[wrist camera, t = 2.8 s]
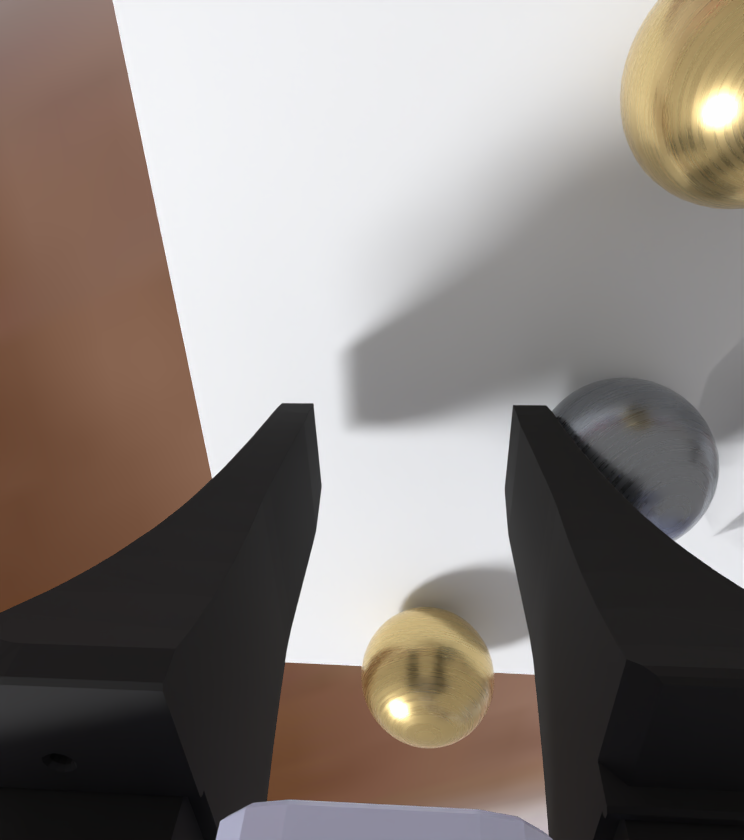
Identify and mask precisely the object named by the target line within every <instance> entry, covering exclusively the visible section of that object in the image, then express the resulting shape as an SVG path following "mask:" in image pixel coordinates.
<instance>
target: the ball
mask: <svg viewBox="0 0 744 840" xmlns="http://www.w3.org/2000/svg"><path fill="white" fill-rule="evenodd" d="M552 412H553V413H554V415H555V416H556V418H557V419H558V420H559V422H560V423H561V424H562V426H563V427H564V428H565V429H566V431H567V432H568V433H569V435H570V436H571V437H572V438H573V440H574V441H575V442H576V443H577V445H578V446H579V447H580V448H581V450H582V451H583V452H584V453H585V455H586V456H587V457H588V458H589V459H590V460H591V461H592V463H593V464H594V465H595V466H596V467H597V468H598V469H599V471H600V472H601V473H602V474H603V475H604V476H605V477H606V478H607V480H608V481H609V482H610V483H611V484H612V485H613V486H614V487H615V488H616V489H617V490H618V491H619V492H620V493H621V494H622V495H623V496H624V497H625V498H626V499H627V500H628V501H629V502H630V503H631V504H632V505H633V506H634V507H635V508H636V509H637V510H638V511H639V512H640V513H642V514H643V515H644V516H645V517H646V518H647V519H648V520H650V521H651V522H652V523H653V524H654V525H656V526H657V527H658V528H659V529H660V530H662V531H663V532H664V533H665V534H666V535H668V536H669V537H670V538H671V539H672V540H674V541H675V540H677V539H679V538H680V537H682V536H683V535H684V534H686V533H687V532H688V531H690V530H691V529H692V528H693V527H694V526H695V525H696V524H697V523H698V522H699V521H700V519H701V518H702V517H703V515H704V514H705V512H706V511H707V509H708V507H709V505H710V503H711V501H712V499H713V497H714V494H715V492H716V488H717V483H718V478H719V457H718V451H717V447H716V443H715V439H714V437H713V435H712V432H711V430H710V428H709V426H708V424H707V422H706V421H705V420H704V418H703V417H702V416H701V414H700V413H699V412H698V410H697V409H696V408H695V407H694V406H693V405H692V404H691V403H690V402H688V401H687V400H686V399H685V398H684V397H682V396H681V395H679V394H678V393H676V392H675V391H673V390H671V389H669V388H667V387H665V386H663V385H660V384H658V383H655V382H652V381H648V380H643V379H638V378H611V379H606V380H601V381H597V382H594V383H591V384H588V385H586V386H584V387H581V388H580V389H578V390H576V391H574V392H573V393H571V394H570V395H568V396H567V397H566V398H565V399H563V400H562V401H561V402H560V403H559V404H558V405H557V406H556V407H555V408H554V409H553V410H552Z"/></svg>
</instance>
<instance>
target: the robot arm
mask: <svg viewBox="0 0 744 840" xmlns="http://www.w3.org/2000/svg"><path fill="white" fill-rule="evenodd" d="M321 488H322V484H321V474H320V464H319V454H318V444H317V434H316V424H315V414H314V404H313V403H282V404H281V405H279V406H278V407H277V408H276V410H275V411H274V412H273V413H272V414H271V415H270V417H269V418H268V419H267V420H266V421H265V422H264V424H263V425H262V426H261V427H260V428H259V429H258V431H257V432H256V433H255V434H254V435H253V436H252V437H251V439H250V440H249V441H248V442H247V443H246V444H245V445H244V446H243V447H242V449H241V450H240V451H239V452H238V453H237V454H236V455H235V456H234V457H233V458H232V459H231V460H230V461H229V462H228V464H227V465H226V466H225V467H224V468H223V469H222V470H221V471H220V472H219V473H218V474H217V475H216V476H215V477H213V478H212V479H211V480H210V481H209V482H208V483H207V484H206V485H205V486H204V487H203V488H202V489H201V490H200V491H199V492H198V493H197V494H196V495H194V496H193V497H192V498H191V499H190V500H189V501H188V502H186V503H185V504H184V505H183V506H182V507H181V508H179V509H178V510H177V511H176V512H174V513H173V514H172V515H170V516H169V517H168V518H167V519H165V520H164V521H163V522H161V523H160V524H159V525H157V526H156V527H155V528H153V529H152V530H150V531H149V532H147V533H146V534H144V535H143V536H141V537H140V538H138V539H137V540H135V541H134V542H132V543H131V544H129V545H128V546H126V547H125V548H123V549H122V550H120V551H119V552H117V553H116V554H114V555H113V556H111V557H109V558H108V559H106V560H104V561H103V562H101V563H99V564H97V565H96V566H94V567H92V568H91V569H89V570H87V571H85V572H83V573H82V574H80V575H78V576H76V577H74V578H72V579H70V580H69V581H67V582H65V583H63V584H61V585H59V586H57V587H55V588H53V589H51V590H49V591H47V592H45V593H43V594H40V595H38V596H36V597H34V598H32V599H30V600H27V601H25V602H23V603H21V604H19V605H16V606H14V607H12V608H10V609H8V610H6V611H3V612H1V613H0V840H744V589H743V588H742V587H740V586H738V585H737V584H735V583H734V582H732V581H731V580H729V579H727V578H726V577H724V576H723V575H721V574H720V573H718V572H717V571H715V570H714V569H712V568H711V567H710V566H708V565H707V564H705V563H704V562H702V561H701V560H700V559H698V558H697V557H695V556H694V555H693V554H691V553H690V552H688V551H687V550H686V549H684V548H683V547H682V546H680V545H679V544H678V543H676V542H675V541H674V540H672V539H671V538H670V537H669V536H668V535H666V534H665V533H664V532H663V531H662V530H660V529H659V528H658V527H657V526H656V525H654V524H653V523H652V522H651V521H650V520H648V519H647V518H646V517H645V516H644V515H643V514H642V513H640V512H639V511H638V510H637V509H636V508H635V507H634V506H633V505H632V504H631V503H630V502H629V501H628V500H627V499H626V498H625V497H624V496H623V495H622V494H621V493H620V492H619V491H618V490H617V489H616V488H615V487H614V486H613V485H612V484H611V483H610V482H609V481H608V480H607V478H606V477H605V476H604V475H603V474H602V473H601V472H600V471H599V469H598V468H597V467H596V466H595V465H594V464H593V463H592V461H591V460H590V459H589V458H588V457H587V456H586V455H585V453H584V452H583V451H582V450H581V448H580V447H579V446H578V445H577V443H576V442H575V441H574V440H573V438H572V437H571V436H570V435H569V433H568V432H567V431H566V429H565V428H564V427H563V426H562V424H561V423H560V422H559V420H558V419H557V418H556V416H555V415H554V413H553V412H552V411H551V410H550V409H549V408H548V407H547V406H546V405H513V410H512V420H511V430H510V440H509V450H508V460H507V470H506V480H505V501H506V515H507V526H508V536H509V541H510V546H511V551H512V556H513V561H514V566H515V571H516V575H517V580H518V585H519V590H520V594H521V599H522V604H523V608H524V613H525V618H526V623H527V627H528V632H529V637H530V643H531V650H532V656H533V664H534V673H535V683H536V693H537V702H538V713H539V723H540V734H541V745H542V756H543V768H544V780H545V792H546V805H547V817H548V830H549V836H548V835H547V834H546V833H544V832H543V831H541V830H540V829H538V828H536V827H535V826H533V825H531V824H529V823H528V822H526V821H524V820H522V819H521V818H519V817H517V816H512V815H506V814H501V813H495V812H490V811H485V810H479V809H461V808H442V807H423V806H403V805H384V804H365V803H345V802H326V801H306V800H279V801H268V802H267V794H268V786H269V778H270V769H271V761H272V753H273V745H274V737H275V730H276V722H277V715H278V708H279V700H280V693H281V686H282V680H283V673H284V666H285V659H286V652H287V647H288V642H289V637H290V633H291V628H292V624H293V620H294V616H295V612H296V608H297V604H298V601H299V597H300V593H301V589H302V585H303V581H304V577H305V573H306V570H307V566H308V562H309V558H310V554H311V550H312V546H313V542H314V538H315V534H316V529H317V521H318V513H319V505H320V496H321Z"/></svg>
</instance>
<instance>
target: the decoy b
mask: <svg viewBox="0 0 744 840" xmlns="http://www.w3.org/2000/svg"><path fill="white" fill-rule="evenodd" d="M620 111H621V119H622V126H623V130H624V134H625V137H626V140H627V143H628V145H629V147H630V149H631V151H632V153H633V155H634V157H635V159H636V160H637V162H638V163H639V165H640V166H641V168H642V169H643V170H644V172H645V173H646V174H647V175H648V176H649V177H650V178H651V179H652V180H653V181H654V182H655V183H657V184H658V185H659V186H661V187H662V188H663V189H665V190H666V191H667V192H669V193H670V194H672V195H674V196H676V197H678V198H680V199H682V200H685V201H688V202H691V203H693V204H697V205H700V206H705V207H710V208H716V209H744V0H658V1H657V2H656V3H655V5H654V6H653V7H652V9H651V10H650V11H649V13H648V14H647V16H646V18H645V19H644V21H643V23H642V24H641V26H640V28H639V29H638V31H637V34H636V36H635V38H634V40H633V42H632V44H631V47H630V50H629V53H628V56H627V58H626V61H625V65H624V70H623V75H622V80H621V90H620Z"/></svg>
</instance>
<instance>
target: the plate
mask: <svg viewBox="0 0 744 840" xmlns="http://www.w3.org/2000/svg"><path fill="white" fill-rule="evenodd" d="M657 1H658V0H113V4H114V9H115V14H116V19H117V23H118V28H119V33H120V38H121V43H122V47H123V52H124V57H125V62H126V67H127V71H128V76H129V81H130V86H131V91H132V95H133V100H134V105H135V110H136V115H137V119H138V124H139V129H140V134H141V139H142V143H143V148H144V153H145V158H146V163H147V167H148V172H149V177H150V182H151V187H152V191H153V196H154V201H155V206H156V211H157V215H158V220H159V225H160V230H161V235H162V239H163V244H164V249H165V254H166V259H167V263H168V268H169V273H170V278H171V283H172V287H173V292H174V297H175V302H176V307H177V311H178V316H179V321H180V326H181V331H182V336H183V340H184V345H185V350H186V355H187V360H188V364H189V369H190V374H191V379H192V384H193V388H194V393H195V398H196V403H197V408H198V412H199V417H200V422H201V427H202V432H203V436H204V441H205V446H206V451H207V456H208V460H209V465H210V470H211V475H212V478H213V477H215V476H216V475H217V474H218V473H219V472H220V471H221V470H222V469H223V468H224V467H225V466H226V465H227V464H228V462H229V461H230V460H231V459H232V458H233V457H234V456H235V455H236V454H237V453H238V452H239V451H240V450H241V449H242V447H243V446H244V445H245V444H246V443H247V442H248V441H249V440H250V439H251V437H252V436H253V435H254V434H255V433H256V432H257V431H258V429H259V428H260V427H261V426H262V425H263V424H264V422H265V421H266V420H267V419H268V418H269V417H270V415H271V414H272V413H273V412H274V411H275V410H276V408H277V407H278V406H279V405H281V404H282V403H313V404H314V414H315V424H316V434H317V444H318V454H319V464H320V474H321V484H322V488H321V496H320V505H319V513H318V521H317V529H316V534H315V538H314V542H313V546H312V550H311V554H310V558H309V562H308V566H307V570H306V573H305V577H304V581H303V585H302V589H301V593H300V597H299V601H298V604H297V608H296V612H295V616H294V620H293V624H292V628H291V633H290V637H289V642H288V647H287V652H286V659H285V662H293V663H313V664H333V665H353V666H362V663H363V658H364V654H365V651H366V648H367V646H368V644H369V642H370V640H371V638H372V637H373V635H374V634H375V633H376V631H377V630H378V629H379V628H380V627H381V626H382V625H383V624H384V623H385V622H386V621H387V620H388V619H390V618H391V617H393V616H395V615H396V614H398V613H400V612H403V611H405V610H408V609H412V608H418V607H434V608H440V609H444V610H447V611H450V612H452V613H454V614H456V615H458V616H459V617H461V618H463V619H464V620H466V621H467V622H468V623H469V624H470V625H471V626H472V627H473V628H474V629H475V630H476V631H477V632H478V634H479V635H480V636H481V638H482V639H483V641H484V642H485V644H486V646H487V649H488V651H489V653H490V656H491V659H492V664H493V670H494V673H514V674H534V675H535V673H534V664H533V656H532V650H531V643H530V637H529V632H528V627H527V623H526V618H525V613H524V608H523V604H522V599H521V594H520V590H519V585H518V580H517V575H516V571H515V566H514V561H513V556H512V551H511V546H510V541H509V536H508V526H507V515H506V501H505V480H506V470H507V460H508V450H509V440H510V430H511V420H512V410H513V405H546V406H547V407H548V408H549V409H550V410H551V411H552V410H553V409H554V408H555V407H556V406H557V405H558V404H559V403H560V402H561V401H562V400H563V399H565V398H566V397H567V396H568V395H570V394H571V393H573V392H574V391H576V390H578V389H580V388H581V387H584V386H586V385H588V384H591V383H594V382H597V381H601V380H606V379H611V378H638V379H643V380H648V381H652V382H655V383H658V384H660V385H663V386H665V387H667V388H669V389H671V390H673V391H675V392H676V393H678V394H679V395H681V396H682V397H684V398H685V399H686V400H687V401H688V402H690V403H691V404H692V405H693V406H694V407H695V408H696V409H697V410H698V412H699V413H700V414H701V416H702V417H703V418H704V420H705V421H706V422H707V424H708V426H709V428H710V430H711V432H712V435H713V437H714V439H715V443H716V447H717V451H718V457H719V478H718V483H717V488H716V492H715V494H714V497H713V499H712V501H711V503H710V505H709V507H708V509H707V511H706V512H705V514H704V515H703V517H702V518H701V519H700V521H699V522H698V523H697V524H696V525H695V526H694V527H693V528H692V529H691V530H690V531H688V532H687V533H686V534H684V535H683V536H682V537H680V538H679V539H677V540H675V542H676V543H678V544H679V545H680V546H682V547H683V548H684V549H686V550H687V551H688V552H690V553H691V554H693V555H694V556H695V557H697V558H698V559H700V560H701V561H702V562H704V563H705V564H707V565H708V566H710V567H711V568H712V569H714V570H715V571H717V572H718V573H720V574H721V575H723V576H724V577H726V578H727V579H729V580H731V581H732V582H734V583H735V584H737V585H738V586H740V587H742V588H743V589H744V209H716V208H710V207H705V206H700V205H697V204H693V203H691V202H688V201H685V200H682V199H680V198H678V197H676V196H674V195H672V194H670V193H669V192H667V191H666V190H665V189H663V188H662V187H661V186H659V185H658V184H657V183H655V182H654V181H653V180H652V179H651V178H650V177H649V176H648V175H647V174H646V173H645V172H644V170H643V169H642V168H641V166H640V165H639V163H638V162H637V160H636V159H635V157H634V155H633V153H632V151H631V149H630V147H629V145H628V143H627V140H626V137H625V134H624V130H623V126H622V119H621V111H620V90H621V80H622V75H623V70H624V65H625V61H626V58H627V56H628V53H629V50H630V47H631V44H632V42H633V40H634V38H635V36H636V34H637V31H638V29H639V28H640V26H641V24H642V23H643V21H644V19H645V18H646V16H647V14H648V13H649V11H650V10H651V9H652V7H653V6H654V5H655V3H656V2H657Z"/></svg>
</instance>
